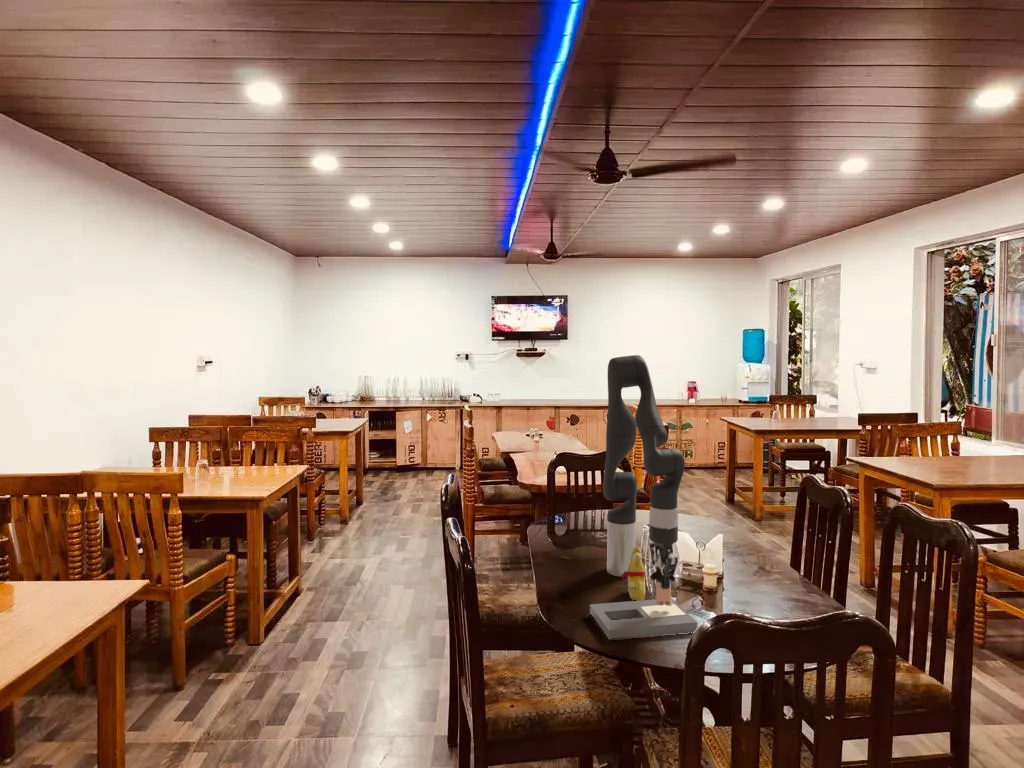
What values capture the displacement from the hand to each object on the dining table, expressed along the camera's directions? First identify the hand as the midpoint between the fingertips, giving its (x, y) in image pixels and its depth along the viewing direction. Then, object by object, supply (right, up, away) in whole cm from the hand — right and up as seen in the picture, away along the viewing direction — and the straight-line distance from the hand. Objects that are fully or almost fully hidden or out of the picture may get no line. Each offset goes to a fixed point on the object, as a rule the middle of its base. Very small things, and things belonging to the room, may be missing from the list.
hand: (662, 585), depth 173 cm
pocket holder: (-6, -10, 0) cm, 12 cm away
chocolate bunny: (-4, -9, +19) cm, 22 cm away
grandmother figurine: (0, -5, 0) cm, 5 cm away
